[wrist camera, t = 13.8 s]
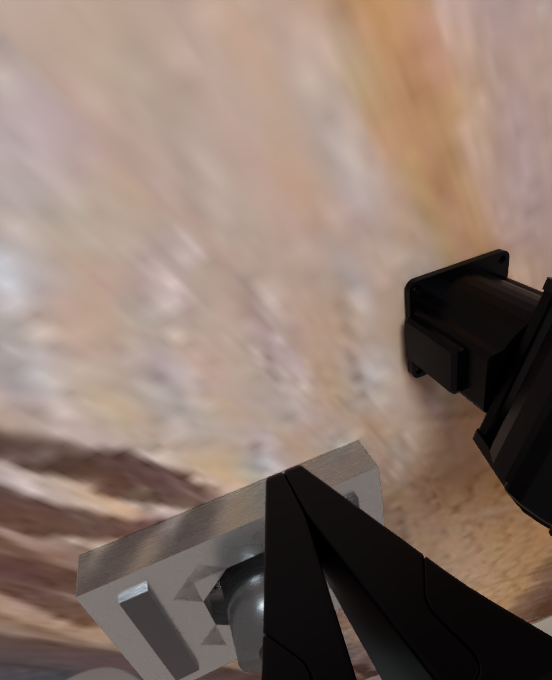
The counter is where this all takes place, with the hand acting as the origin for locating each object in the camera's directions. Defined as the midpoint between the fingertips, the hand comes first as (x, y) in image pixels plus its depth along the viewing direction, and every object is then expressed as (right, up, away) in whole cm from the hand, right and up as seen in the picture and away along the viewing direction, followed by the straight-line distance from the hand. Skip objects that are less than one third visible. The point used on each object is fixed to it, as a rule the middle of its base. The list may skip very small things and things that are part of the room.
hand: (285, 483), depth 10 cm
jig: (-2, -12, +20) cm, 23 cm away
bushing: (-2, -12, +20) cm, 23 cm away
